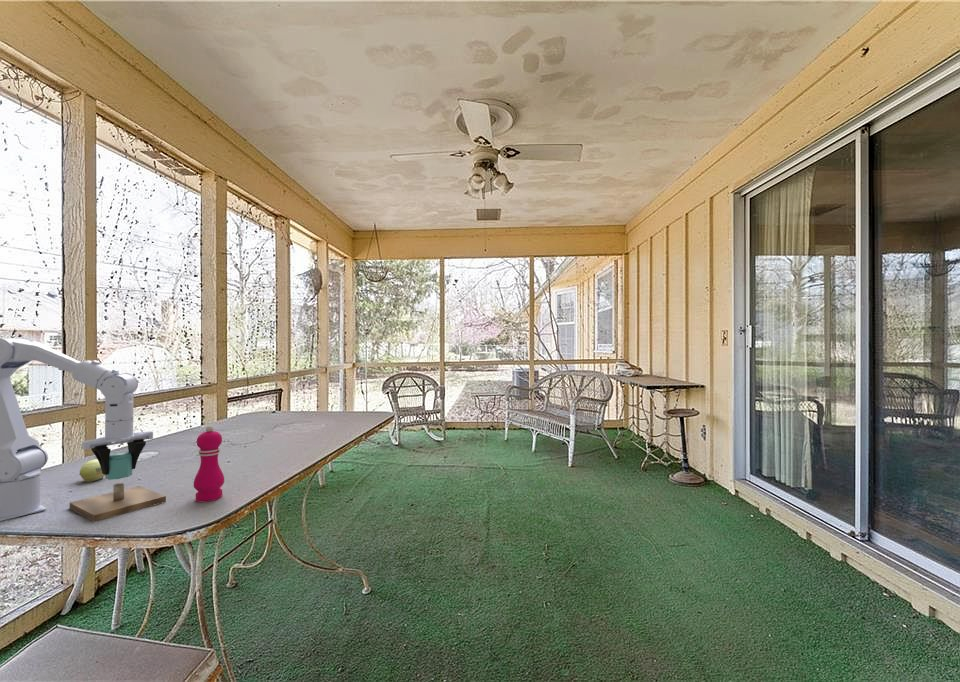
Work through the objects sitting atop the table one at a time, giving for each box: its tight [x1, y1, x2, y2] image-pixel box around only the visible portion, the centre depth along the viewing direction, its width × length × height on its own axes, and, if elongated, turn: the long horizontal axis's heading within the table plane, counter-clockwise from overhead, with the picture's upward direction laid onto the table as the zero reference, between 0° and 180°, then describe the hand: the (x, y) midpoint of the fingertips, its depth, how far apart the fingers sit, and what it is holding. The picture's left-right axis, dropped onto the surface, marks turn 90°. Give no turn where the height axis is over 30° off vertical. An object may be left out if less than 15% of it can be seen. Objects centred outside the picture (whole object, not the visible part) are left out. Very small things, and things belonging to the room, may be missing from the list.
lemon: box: [79, 458, 105, 483], centre depth 133 cm, size 6×7×7 cm
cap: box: [104, 451, 133, 481], centre depth 112 cm, size 5×5×6 cm
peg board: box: [69, 482, 167, 522], centre depth 112 cm, size 15×16×6 cm
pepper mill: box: [193, 425, 225, 503], centre depth 118 cm, size 7×7×20 cm
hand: (119, 471), depth 112 cm, fingers closed on cap, 5 cm apart
